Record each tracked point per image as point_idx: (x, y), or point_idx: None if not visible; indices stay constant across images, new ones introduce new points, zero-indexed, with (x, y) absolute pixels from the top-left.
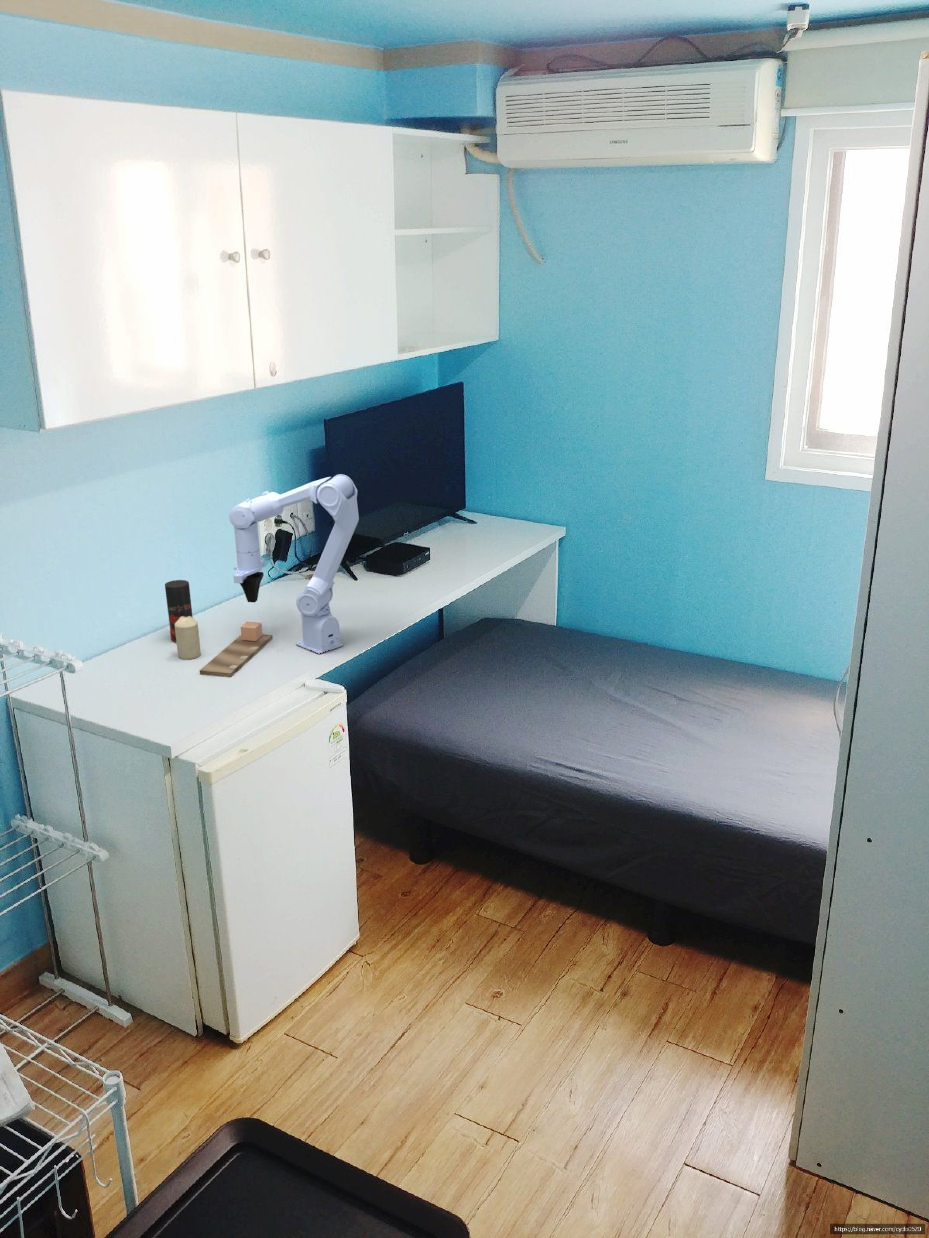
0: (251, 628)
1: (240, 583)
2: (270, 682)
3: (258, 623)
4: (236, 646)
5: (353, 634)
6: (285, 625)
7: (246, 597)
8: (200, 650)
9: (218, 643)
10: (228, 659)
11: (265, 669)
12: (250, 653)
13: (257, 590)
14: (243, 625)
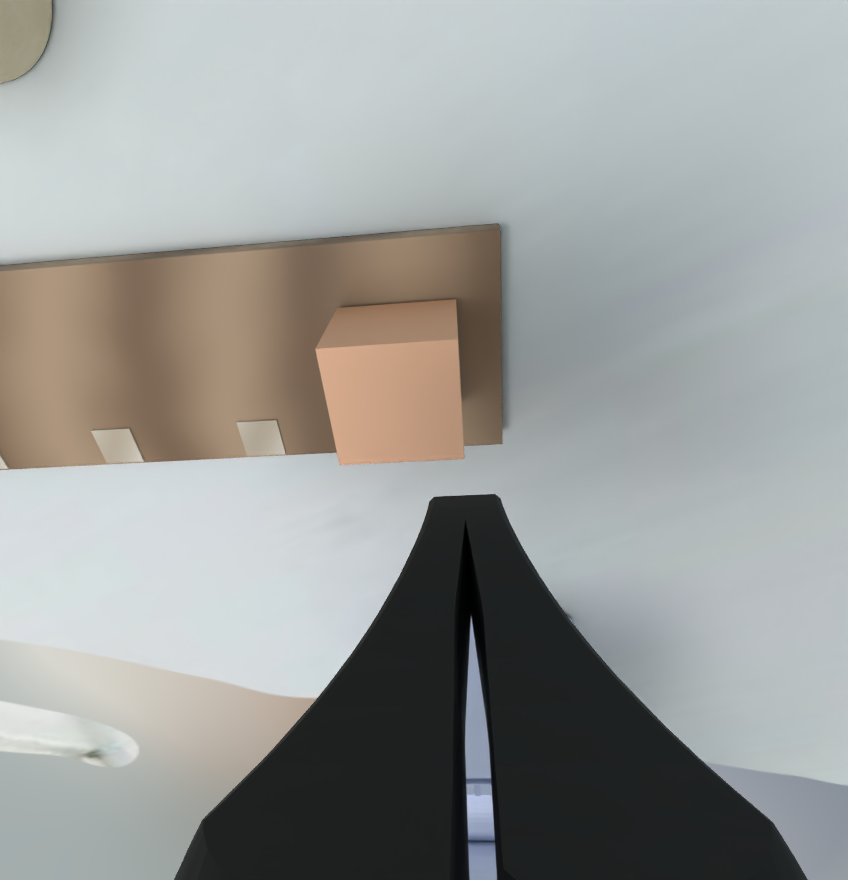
0: (334, 436)
1: (282, 756)
2: (29, 615)
3: (439, 446)
4: (237, 319)
5: None
6: (747, 408)
7: (420, 535)
8: (2, 73)
9: (297, 85)
10: (38, 377)
11: (118, 555)
12: (189, 451)
13: (486, 716)
14: (358, 356)
